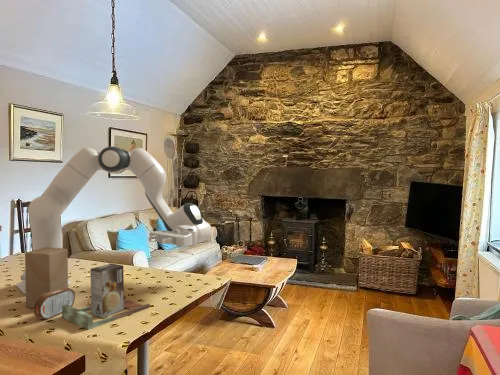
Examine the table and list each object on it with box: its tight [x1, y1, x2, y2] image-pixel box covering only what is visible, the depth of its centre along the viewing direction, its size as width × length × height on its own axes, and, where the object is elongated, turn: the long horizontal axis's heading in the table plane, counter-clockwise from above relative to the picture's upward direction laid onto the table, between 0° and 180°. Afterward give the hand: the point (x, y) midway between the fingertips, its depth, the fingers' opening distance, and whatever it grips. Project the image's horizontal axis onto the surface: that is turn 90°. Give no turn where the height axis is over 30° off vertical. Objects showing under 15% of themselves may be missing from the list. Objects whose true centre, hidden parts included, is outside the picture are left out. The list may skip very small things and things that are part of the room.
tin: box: [33, 287, 76, 320], centre depth 129 cm, size 15×3×8 cm, turn 159°
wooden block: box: [24, 247, 69, 309], centre depth 138 cm, size 10×10×20 cm
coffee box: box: [89, 263, 125, 319], centre depth 131 cm, size 9×6×16 cm
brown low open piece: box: [61, 295, 151, 330], centre depth 131 cm, size 16×24×4 cm, turn 144°
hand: (155, 240), depth 147 cm, fingers open, 5 cm apart
